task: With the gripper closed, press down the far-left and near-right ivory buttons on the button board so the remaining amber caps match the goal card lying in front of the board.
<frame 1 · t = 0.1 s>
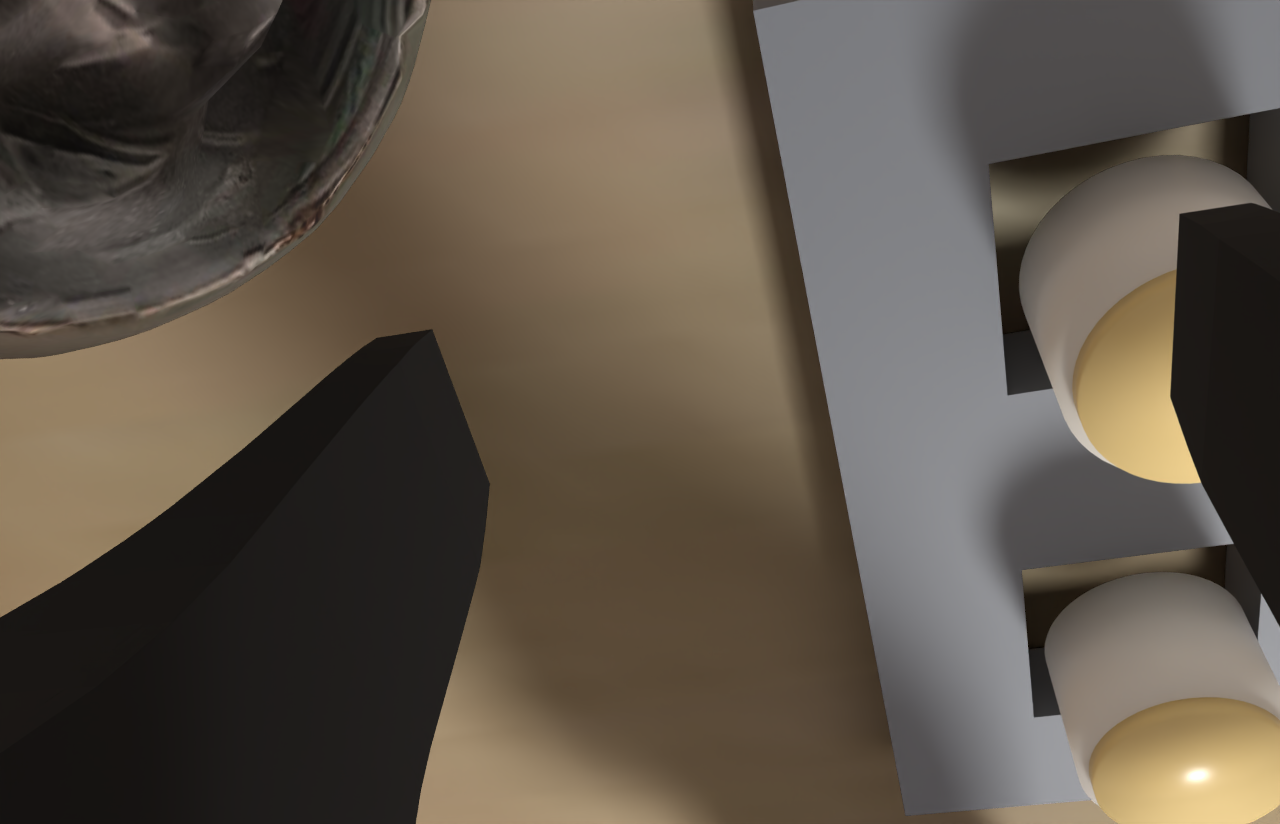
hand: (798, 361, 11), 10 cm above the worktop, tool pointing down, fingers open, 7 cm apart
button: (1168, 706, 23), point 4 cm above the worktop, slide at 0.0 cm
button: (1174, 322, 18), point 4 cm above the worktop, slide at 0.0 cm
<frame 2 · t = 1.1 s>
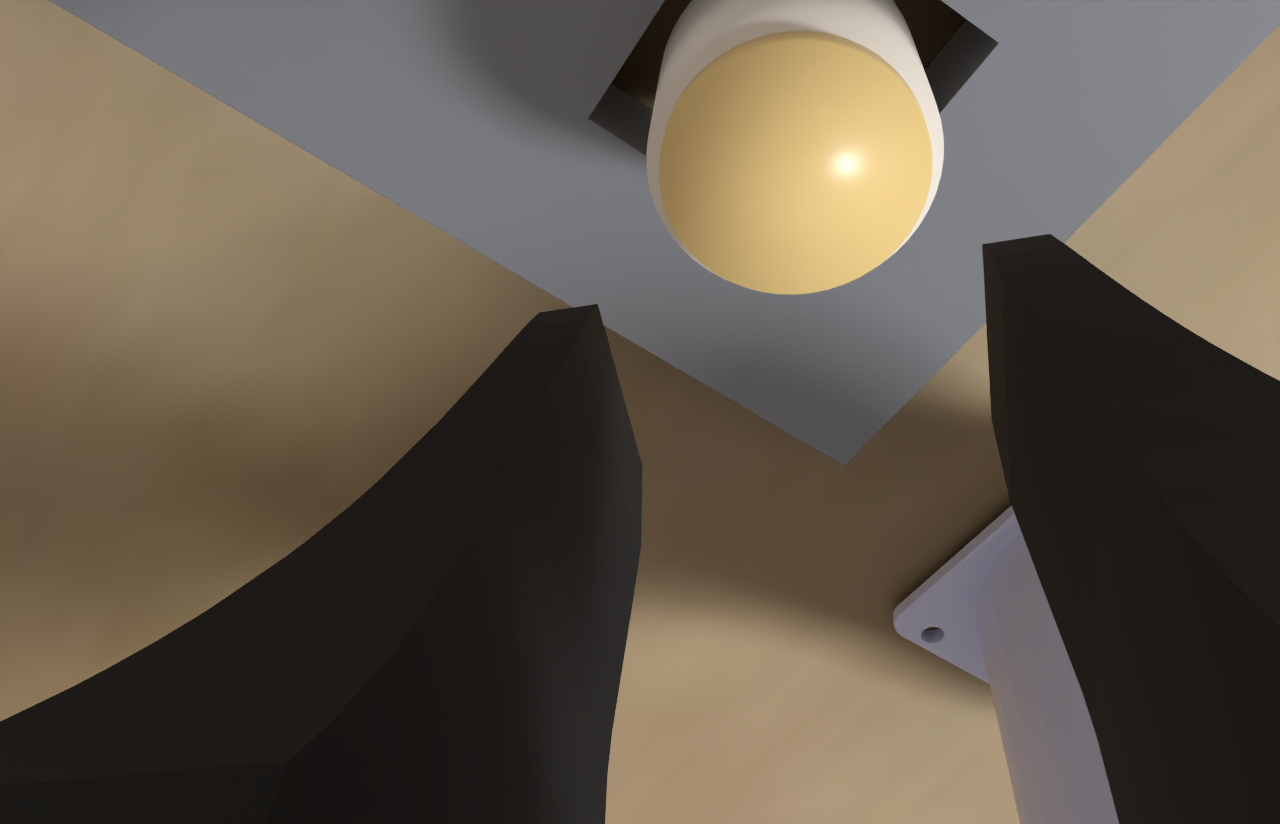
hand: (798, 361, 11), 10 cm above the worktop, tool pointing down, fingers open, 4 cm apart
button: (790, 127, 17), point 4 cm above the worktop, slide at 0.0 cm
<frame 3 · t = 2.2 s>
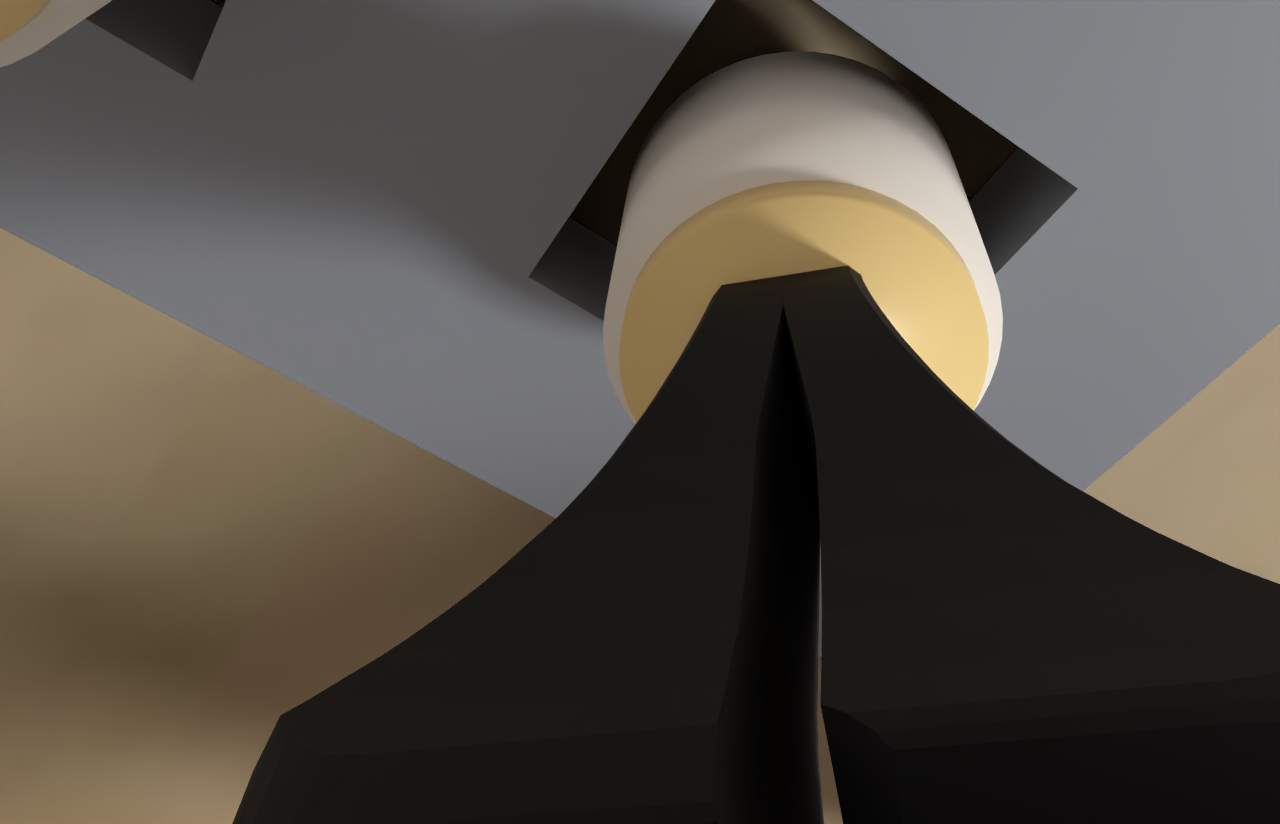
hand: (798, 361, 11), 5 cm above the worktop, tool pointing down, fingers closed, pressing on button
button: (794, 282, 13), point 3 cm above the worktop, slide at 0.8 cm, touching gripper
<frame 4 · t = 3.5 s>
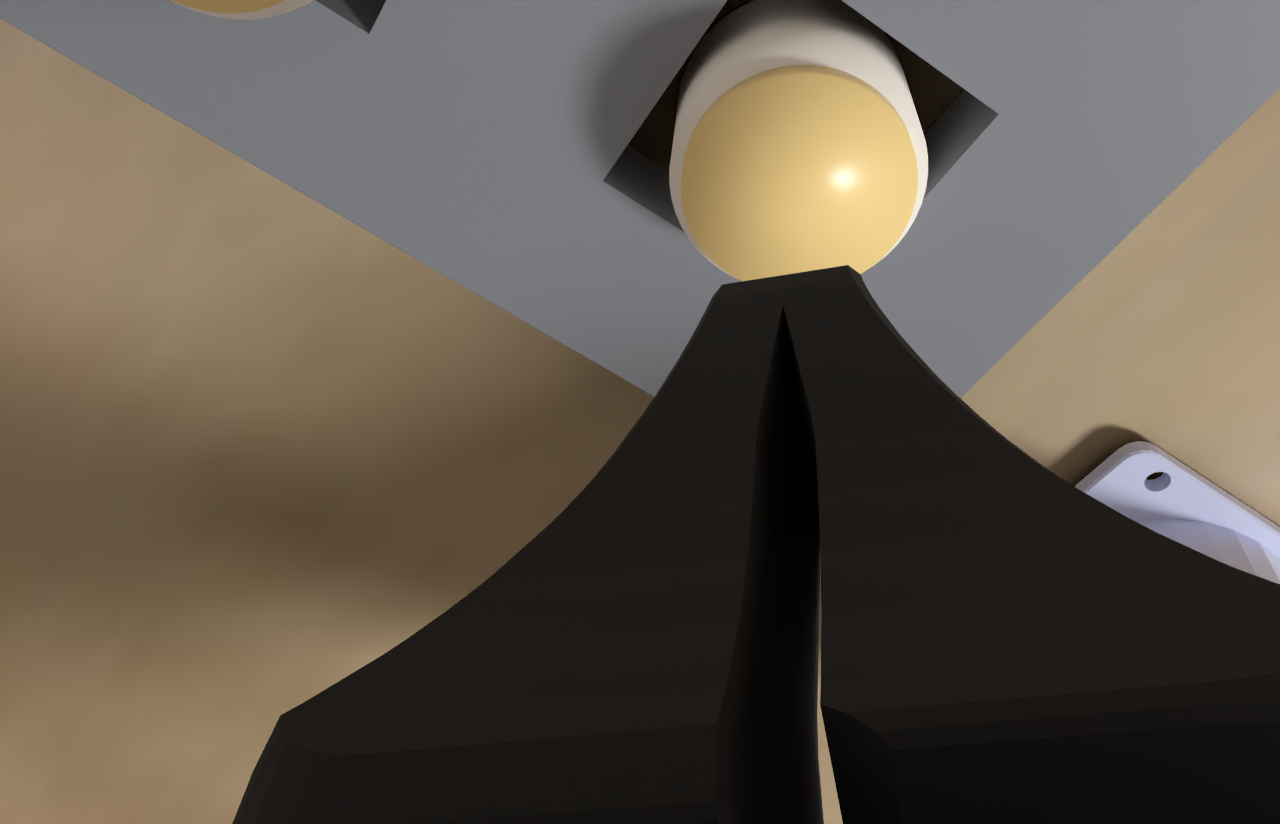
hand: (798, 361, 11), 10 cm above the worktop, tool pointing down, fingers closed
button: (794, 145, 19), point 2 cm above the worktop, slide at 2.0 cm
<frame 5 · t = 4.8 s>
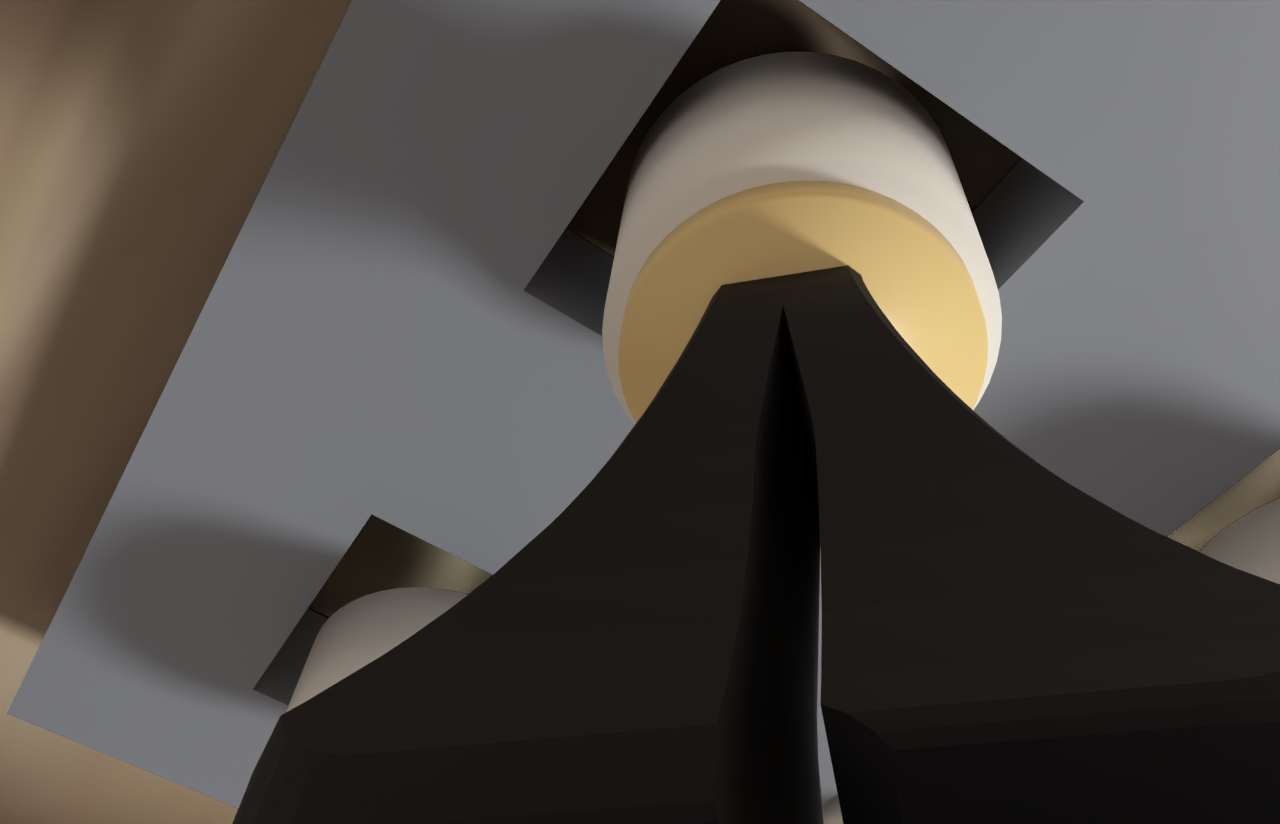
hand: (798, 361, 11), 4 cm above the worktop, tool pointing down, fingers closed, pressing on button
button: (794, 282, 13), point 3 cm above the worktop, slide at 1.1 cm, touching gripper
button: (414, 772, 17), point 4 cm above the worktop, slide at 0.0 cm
button board: (843, 539, 19), on the worktop
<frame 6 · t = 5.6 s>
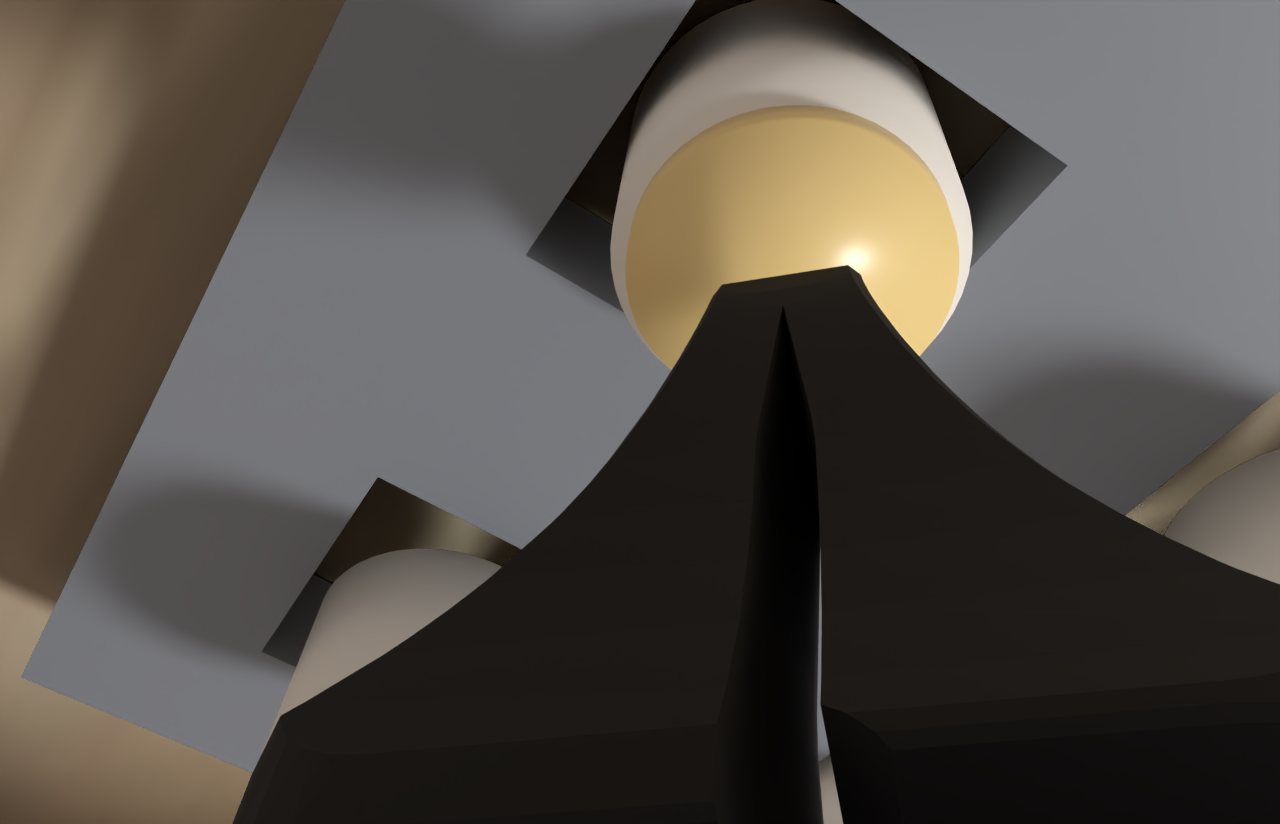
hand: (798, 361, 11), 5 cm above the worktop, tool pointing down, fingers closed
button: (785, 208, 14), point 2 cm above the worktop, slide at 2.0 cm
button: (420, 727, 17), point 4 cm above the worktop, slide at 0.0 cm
button board: (836, 503, 19), on the worktop
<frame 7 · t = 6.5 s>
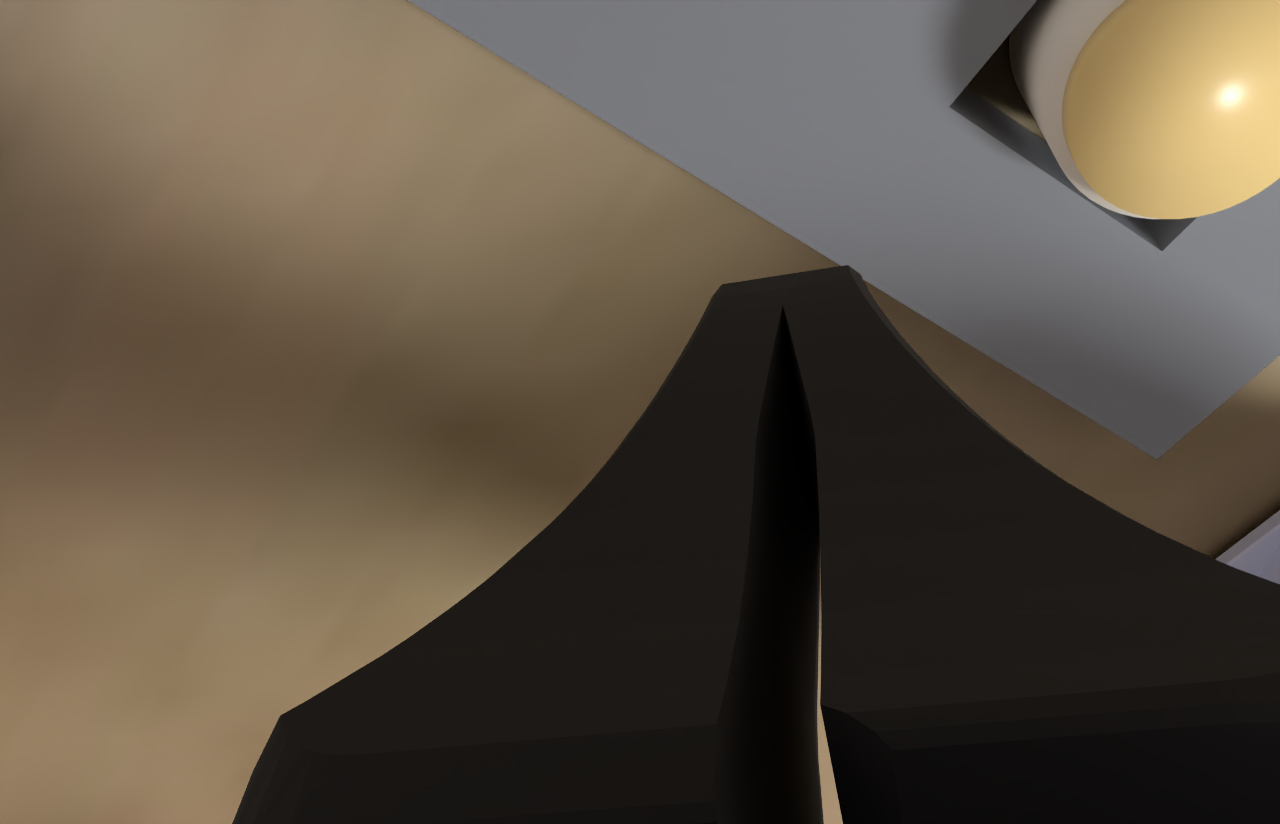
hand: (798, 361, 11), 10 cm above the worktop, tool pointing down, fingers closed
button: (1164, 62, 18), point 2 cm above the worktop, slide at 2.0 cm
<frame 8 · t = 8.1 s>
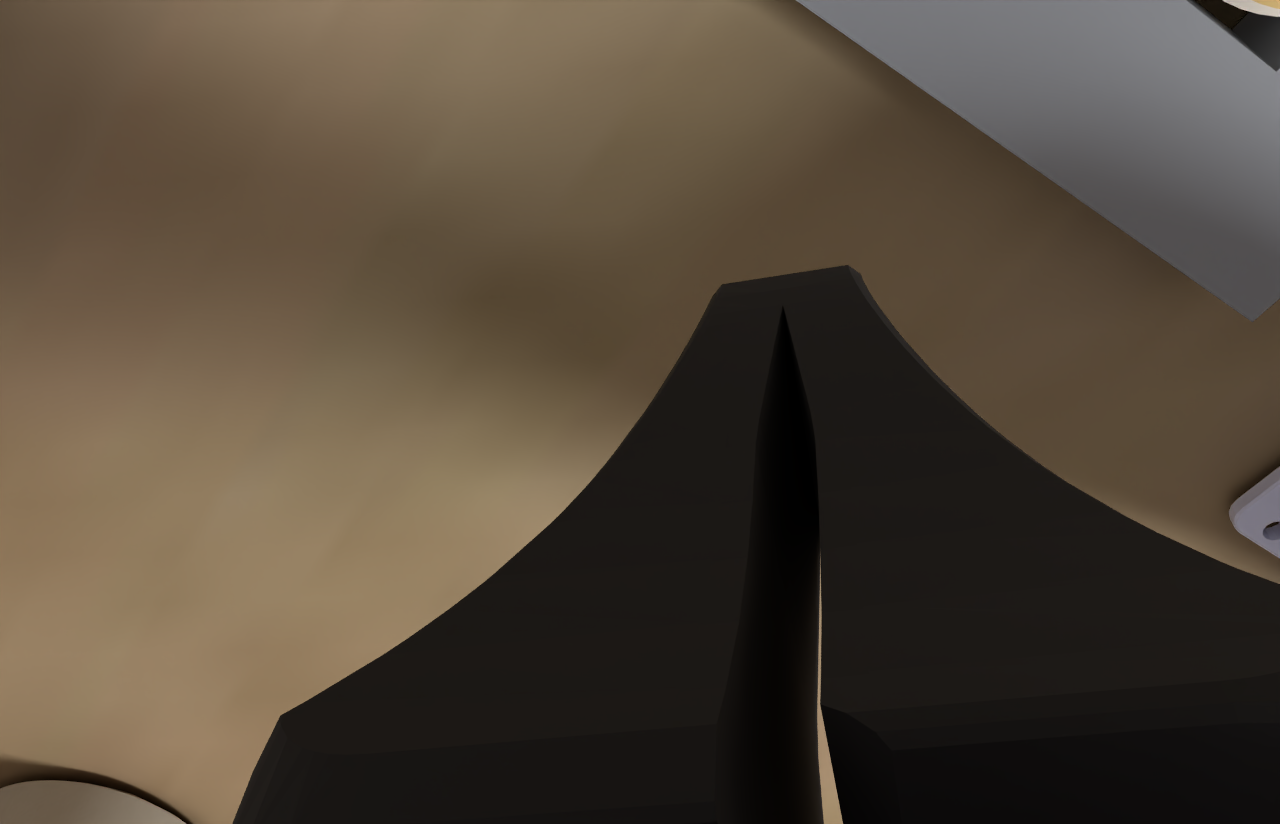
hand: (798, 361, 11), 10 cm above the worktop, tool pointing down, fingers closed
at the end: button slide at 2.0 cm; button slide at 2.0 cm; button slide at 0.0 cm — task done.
